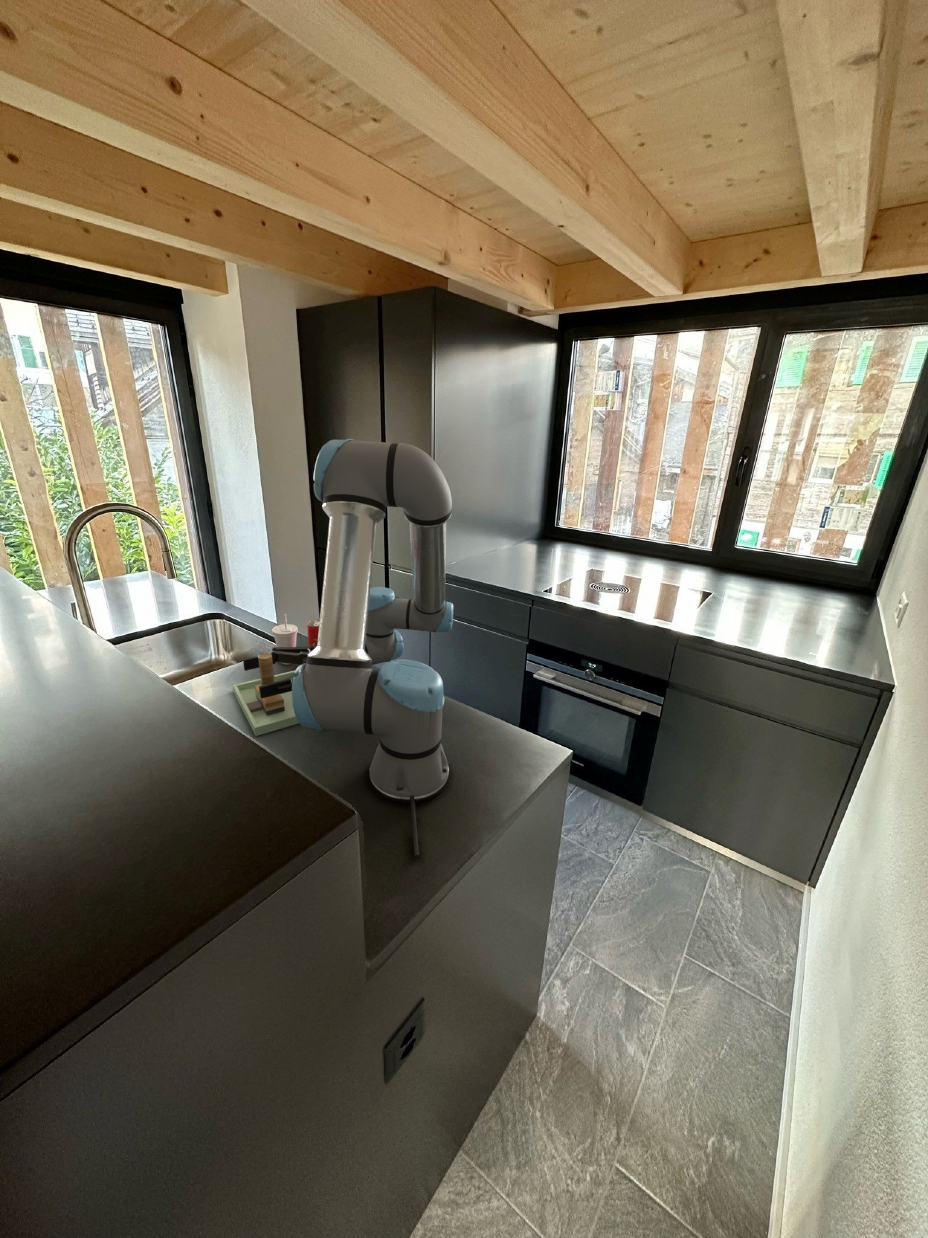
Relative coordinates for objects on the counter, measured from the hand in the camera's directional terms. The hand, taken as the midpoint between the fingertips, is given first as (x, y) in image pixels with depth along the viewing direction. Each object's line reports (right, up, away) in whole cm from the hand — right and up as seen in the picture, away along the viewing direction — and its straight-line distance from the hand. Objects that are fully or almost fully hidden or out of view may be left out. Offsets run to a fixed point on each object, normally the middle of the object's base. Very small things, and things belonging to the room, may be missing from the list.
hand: (251, 678), depth 114 cm
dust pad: (-1, -7, +3) cm, 8 cm away
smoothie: (0, +2, +25) cm, 25 cm away
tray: (+4, -7, +7) cm, 10 cm away
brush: (+2, -6, +5) cm, 8 cm away
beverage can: (+8, +1, +25) cm, 26 cm away
